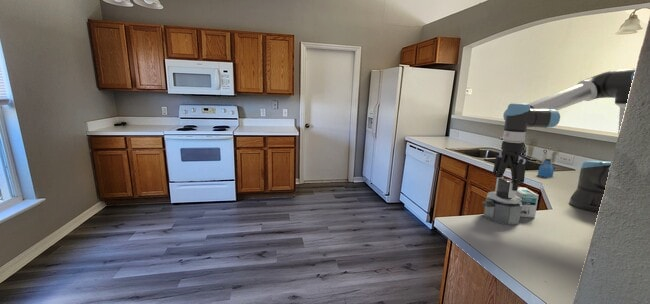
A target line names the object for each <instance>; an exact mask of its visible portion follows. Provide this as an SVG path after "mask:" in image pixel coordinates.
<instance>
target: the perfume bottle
mask: <svg viewBox="0 0 650 304" xmlns="http://www.w3.org/2000/svg"><path fill="white" fill-rule="evenodd" d="M554 172H555V167H554V165H553V164H552V159H551V158H545V159H544V163H541V164H540V166H538V172H537V176H538V175H540V176H539V177H542V176H544V177H543V178H548V179H549V178H553V177H554Z"/></svg>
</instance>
